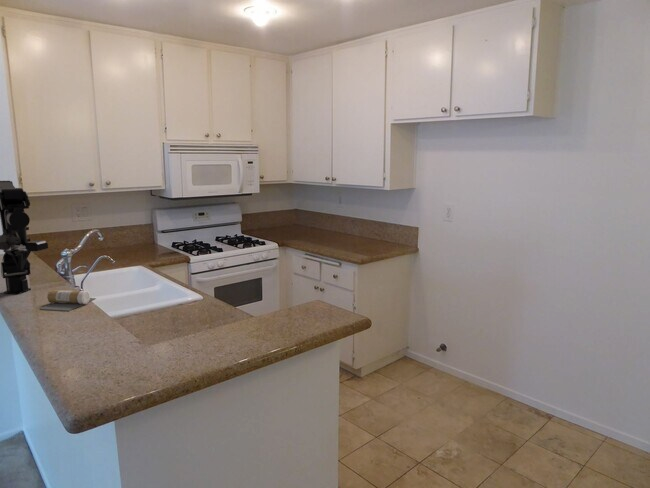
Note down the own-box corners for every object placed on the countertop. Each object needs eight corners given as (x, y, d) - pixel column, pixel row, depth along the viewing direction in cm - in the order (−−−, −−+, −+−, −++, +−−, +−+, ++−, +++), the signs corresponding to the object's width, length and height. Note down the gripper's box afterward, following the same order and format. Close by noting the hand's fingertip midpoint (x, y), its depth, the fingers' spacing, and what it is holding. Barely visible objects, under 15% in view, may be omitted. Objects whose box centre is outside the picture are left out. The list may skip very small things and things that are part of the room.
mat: (39, 309, 156) (39, 308, 156) (68, 297, 169) (68, 296, 169) (69, 311, 154) (69, 310, 154) (95, 299, 168) (95, 298, 168)
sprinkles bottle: (52, 305, 163) (87, 306, 161) (44, 298, 159) (80, 300, 157) (57, 293, 166) (92, 295, 164) (50, 287, 162) (85, 288, 160)
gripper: (-29, 227, 153) (-23, 273, 156) (22, 229, 150) (27, 276, 153) (-2, 222, 164) (4, 265, 167) (47, 224, 161) (51, 268, 164)
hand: (20, 269), depth 162 cm, fingers closed
